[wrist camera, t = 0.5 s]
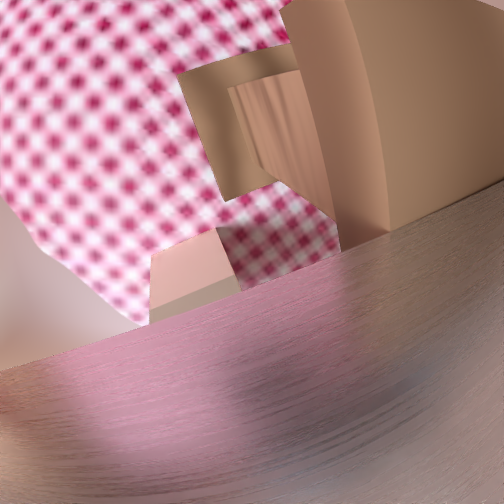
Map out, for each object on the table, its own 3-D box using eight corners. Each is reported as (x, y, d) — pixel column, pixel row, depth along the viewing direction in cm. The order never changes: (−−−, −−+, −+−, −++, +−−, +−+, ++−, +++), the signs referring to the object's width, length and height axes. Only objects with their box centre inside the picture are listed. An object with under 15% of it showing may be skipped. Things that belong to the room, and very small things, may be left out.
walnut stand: (222, 197, 32) (374, 449, 8) (176, 76, 24) (267, -137, 1) (347, 151, 33) (568, 263, 9) (318, 40, 26) (579, 21, 2)
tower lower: (180, 305, 37) (189, 363, 28) (151, 255, 33) (149, 310, 24) (238, 281, 37) (261, 334, 29) (215, 227, 33) (234, 274, 25)
